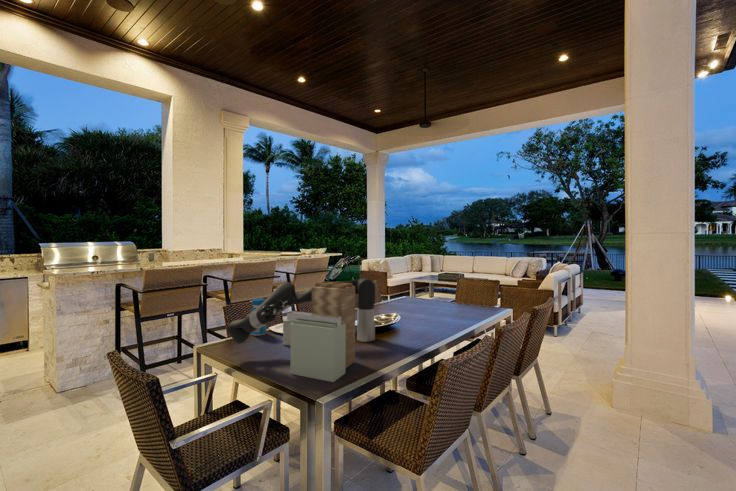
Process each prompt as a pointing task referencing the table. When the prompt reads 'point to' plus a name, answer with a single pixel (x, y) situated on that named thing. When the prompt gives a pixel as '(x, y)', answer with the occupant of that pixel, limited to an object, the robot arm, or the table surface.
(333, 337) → the sage dock
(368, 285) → the robot arm
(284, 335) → the supplement box
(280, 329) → the plate
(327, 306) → the oak stand
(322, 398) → the table surface
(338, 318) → the steel bar
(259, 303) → the beverage bottle
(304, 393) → the table surface
